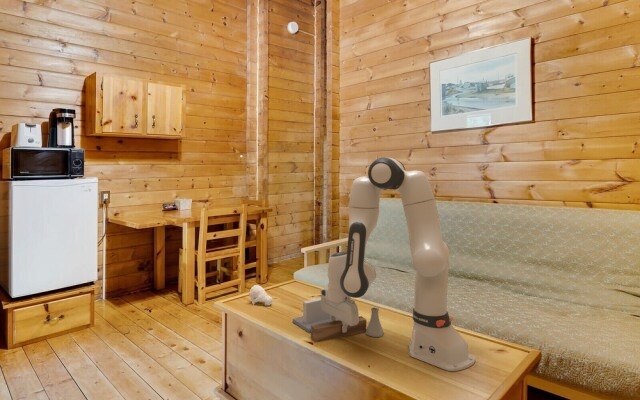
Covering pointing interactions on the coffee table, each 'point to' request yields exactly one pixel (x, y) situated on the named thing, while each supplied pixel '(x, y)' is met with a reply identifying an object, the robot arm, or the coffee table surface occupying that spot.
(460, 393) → the coffee table surface
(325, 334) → the walnut stick
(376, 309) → the flask
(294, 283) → the coffee table surface
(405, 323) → the coffee table surface
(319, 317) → the stand
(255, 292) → the white animal figurine
